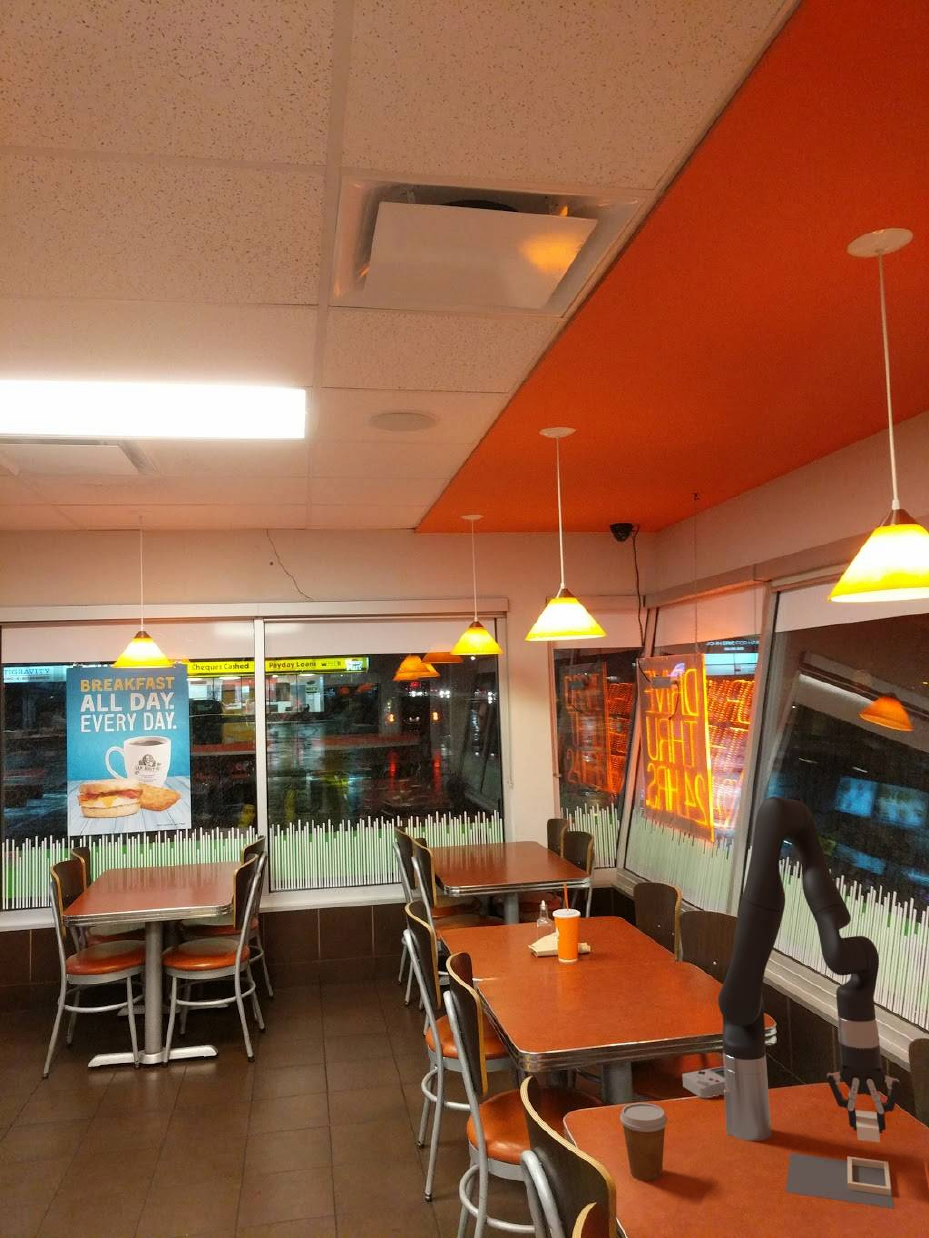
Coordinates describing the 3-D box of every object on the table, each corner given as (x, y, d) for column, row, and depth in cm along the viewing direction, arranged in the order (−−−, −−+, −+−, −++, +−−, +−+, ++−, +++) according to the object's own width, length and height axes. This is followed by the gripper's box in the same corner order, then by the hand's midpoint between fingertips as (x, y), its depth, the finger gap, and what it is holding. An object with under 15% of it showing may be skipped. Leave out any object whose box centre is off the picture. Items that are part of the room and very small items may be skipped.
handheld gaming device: (682, 1088, 229) (681, 1072, 229) (731, 1078, 234) (730, 1063, 234) (703, 1102, 221) (702, 1085, 221) (753, 1091, 226) (752, 1075, 226)
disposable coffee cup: (672, 1165, 188) (669, 1104, 190) (667, 1187, 179) (663, 1123, 181) (626, 1160, 191) (623, 1099, 193) (619, 1181, 182) (616, 1118, 184)
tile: (856, 1122, 185) (855, 1109, 185) (877, 1125, 184) (876, 1112, 184) (857, 1139, 178) (856, 1126, 178) (880, 1142, 176) (878, 1128, 176)
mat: (785, 1194, 175) (785, 1185, 175) (790, 1155, 191) (789, 1146, 191) (894, 1211, 168) (893, 1201, 168) (889, 1169, 184) (888, 1160, 184)
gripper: (896, 1036, 184) (905, 1126, 182) (821, 1031, 189) (829, 1118, 187) (899, 1049, 177) (908, 1142, 175) (821, 1043, 182) (829, 1134, 180)
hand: (867, 1129), depth 181 cm, fingers closed on tile, 4 cm apart
